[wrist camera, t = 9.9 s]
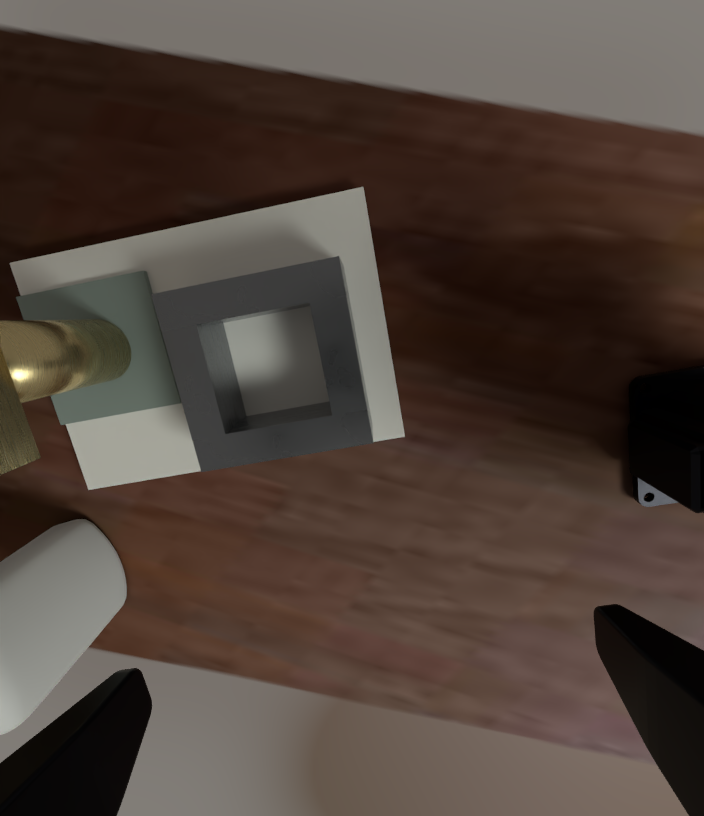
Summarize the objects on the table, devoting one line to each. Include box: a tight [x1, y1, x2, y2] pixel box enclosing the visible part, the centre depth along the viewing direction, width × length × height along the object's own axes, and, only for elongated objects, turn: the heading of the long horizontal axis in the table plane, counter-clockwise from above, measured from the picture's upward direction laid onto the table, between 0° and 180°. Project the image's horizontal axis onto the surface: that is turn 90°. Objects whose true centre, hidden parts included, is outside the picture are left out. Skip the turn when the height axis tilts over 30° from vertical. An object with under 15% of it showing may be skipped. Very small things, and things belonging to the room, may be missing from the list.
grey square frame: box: [151, 256, 373, 472], centre depth 17 cm, size 7×7×3 cm
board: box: [9, 187, 405, 490], centre depth 19 cm, size 16×11×1 cm
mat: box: [16, 271, 182, 425], centre depth 19 cm, size 6×6×1 cm
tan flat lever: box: [0, 319, 131, 475], centre depth 15 cm, size 6×3×8 cm, turn 11°
